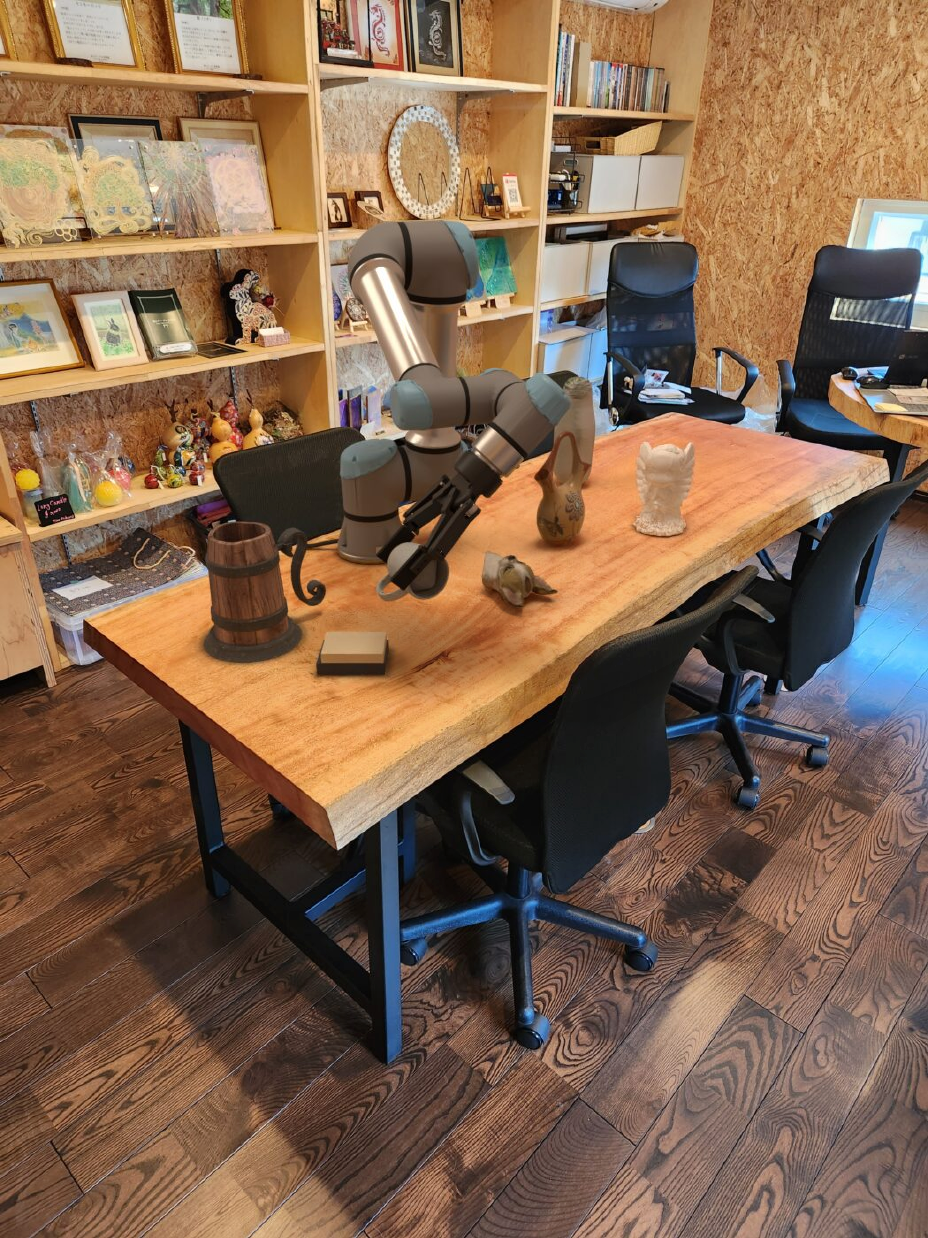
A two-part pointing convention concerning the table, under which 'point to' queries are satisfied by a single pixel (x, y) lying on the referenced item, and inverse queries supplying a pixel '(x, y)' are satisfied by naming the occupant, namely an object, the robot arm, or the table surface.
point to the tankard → (253, 592)
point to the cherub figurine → (663, 487)
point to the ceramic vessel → (561, 498)
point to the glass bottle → (576, 428)
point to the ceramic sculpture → (512, 579)
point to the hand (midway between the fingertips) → (389, 572)
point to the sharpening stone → (353, 653)
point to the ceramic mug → (423, 584)
